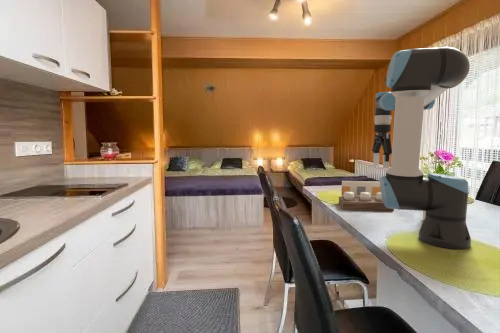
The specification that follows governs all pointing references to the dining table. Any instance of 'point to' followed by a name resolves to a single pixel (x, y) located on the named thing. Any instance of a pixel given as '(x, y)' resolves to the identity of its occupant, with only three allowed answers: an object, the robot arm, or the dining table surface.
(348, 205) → the button board
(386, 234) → the dining table surface
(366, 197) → the button
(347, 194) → the button
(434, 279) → the dining table surface
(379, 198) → the button
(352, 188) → the pattern card
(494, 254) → the dining table surface
